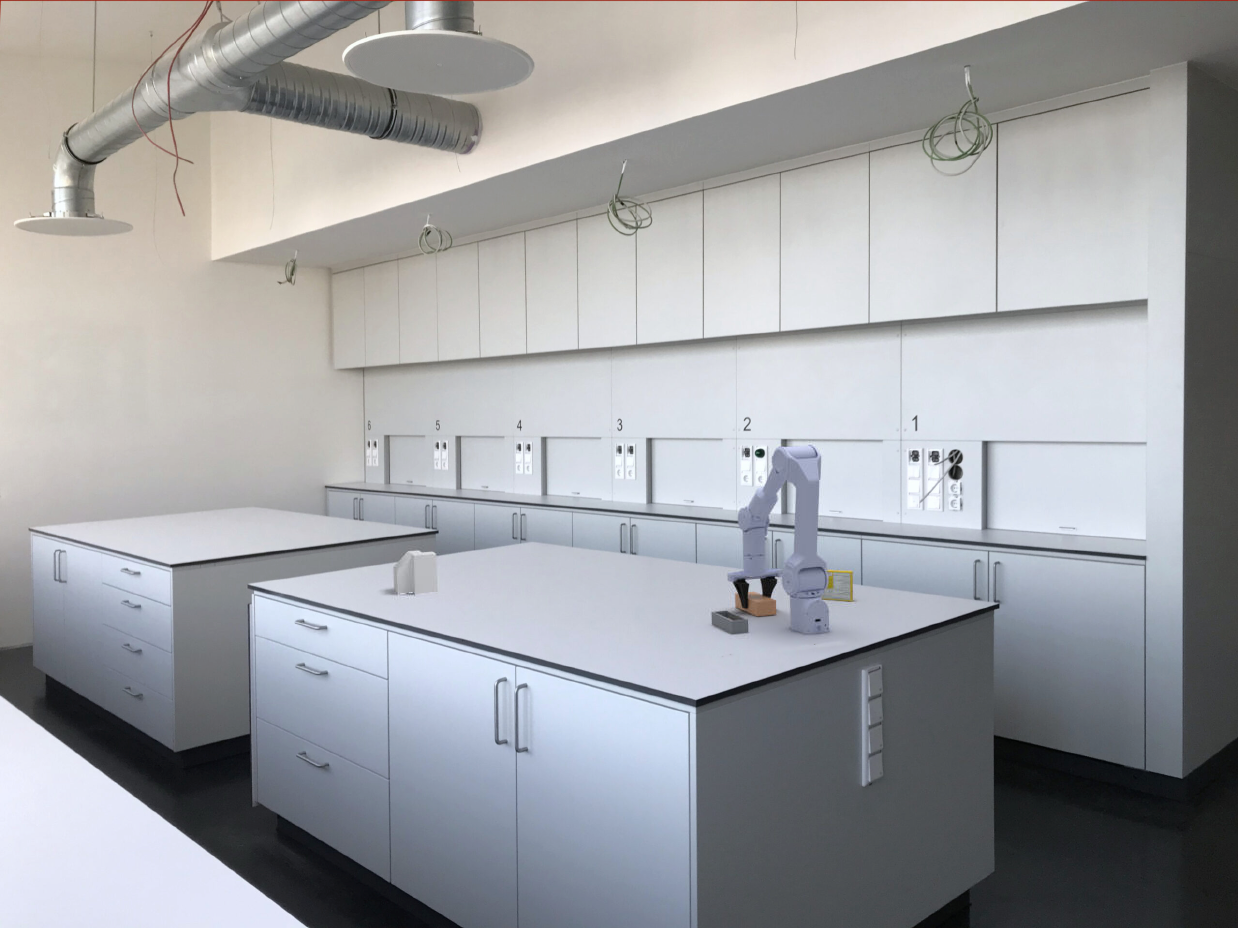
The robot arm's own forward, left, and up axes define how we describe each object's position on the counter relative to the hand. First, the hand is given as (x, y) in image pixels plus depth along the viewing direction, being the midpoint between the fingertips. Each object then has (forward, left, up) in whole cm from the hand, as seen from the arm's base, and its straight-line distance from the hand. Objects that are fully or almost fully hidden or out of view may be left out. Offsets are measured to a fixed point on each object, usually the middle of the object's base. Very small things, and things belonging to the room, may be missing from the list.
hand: (755, 606), depth 246 cm
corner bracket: (+75, +77, -2) cm, 108 cm away
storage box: (-14, +14, -2) cm, 20 cm away
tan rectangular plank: (0, 0, -1) cm, 1 cm away
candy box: (+10, -26, -2) cm, 28 cm away
